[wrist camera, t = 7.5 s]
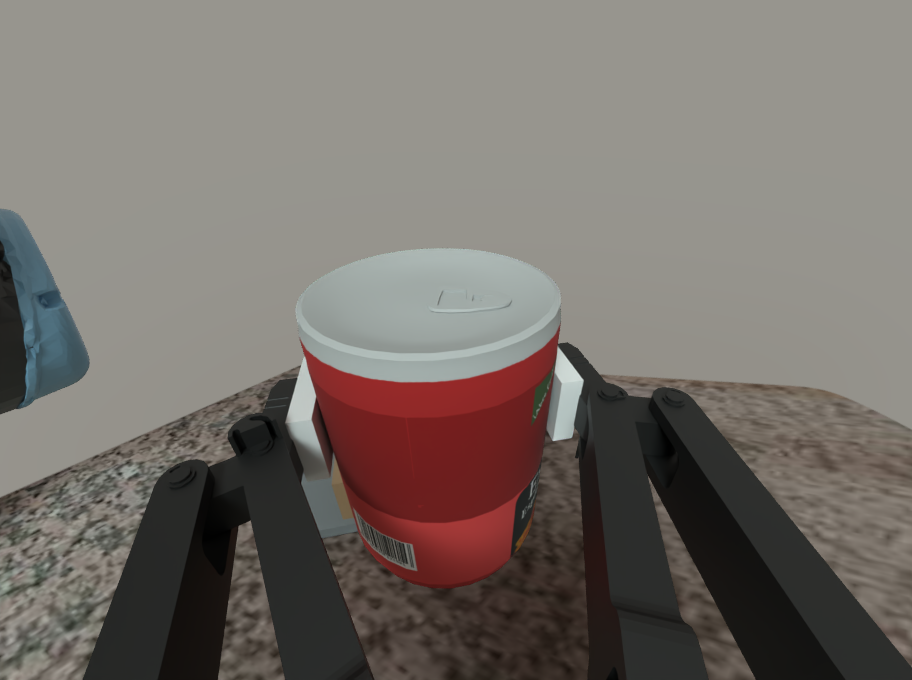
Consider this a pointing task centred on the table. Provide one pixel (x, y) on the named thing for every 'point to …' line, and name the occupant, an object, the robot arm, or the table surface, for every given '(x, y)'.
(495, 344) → the canned food
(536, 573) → the table surface
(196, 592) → the robot arm
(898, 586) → the table surface
